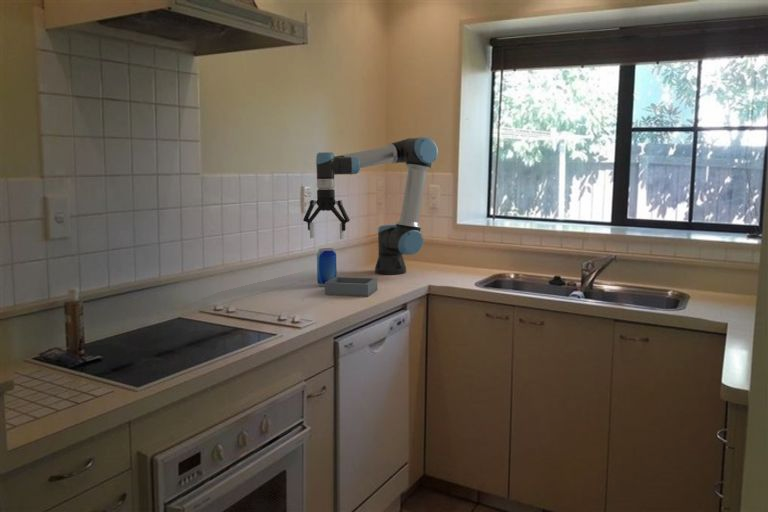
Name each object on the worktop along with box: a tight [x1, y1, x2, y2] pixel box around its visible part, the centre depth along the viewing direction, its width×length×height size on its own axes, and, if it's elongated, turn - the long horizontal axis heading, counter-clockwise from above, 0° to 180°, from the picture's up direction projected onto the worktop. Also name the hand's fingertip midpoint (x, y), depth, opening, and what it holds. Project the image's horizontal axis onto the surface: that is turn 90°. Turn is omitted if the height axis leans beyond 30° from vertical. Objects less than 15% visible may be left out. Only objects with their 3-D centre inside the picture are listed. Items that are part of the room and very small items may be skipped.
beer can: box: [316, 247, 338, 288], centre depth 286 cm, size 8×8×16 cm
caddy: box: [324, 276, 378, 298], centre depth 272 cm, size 14×18×5 cm
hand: (326, 238), depth 284 cm, fingers open, 13 cm apart
